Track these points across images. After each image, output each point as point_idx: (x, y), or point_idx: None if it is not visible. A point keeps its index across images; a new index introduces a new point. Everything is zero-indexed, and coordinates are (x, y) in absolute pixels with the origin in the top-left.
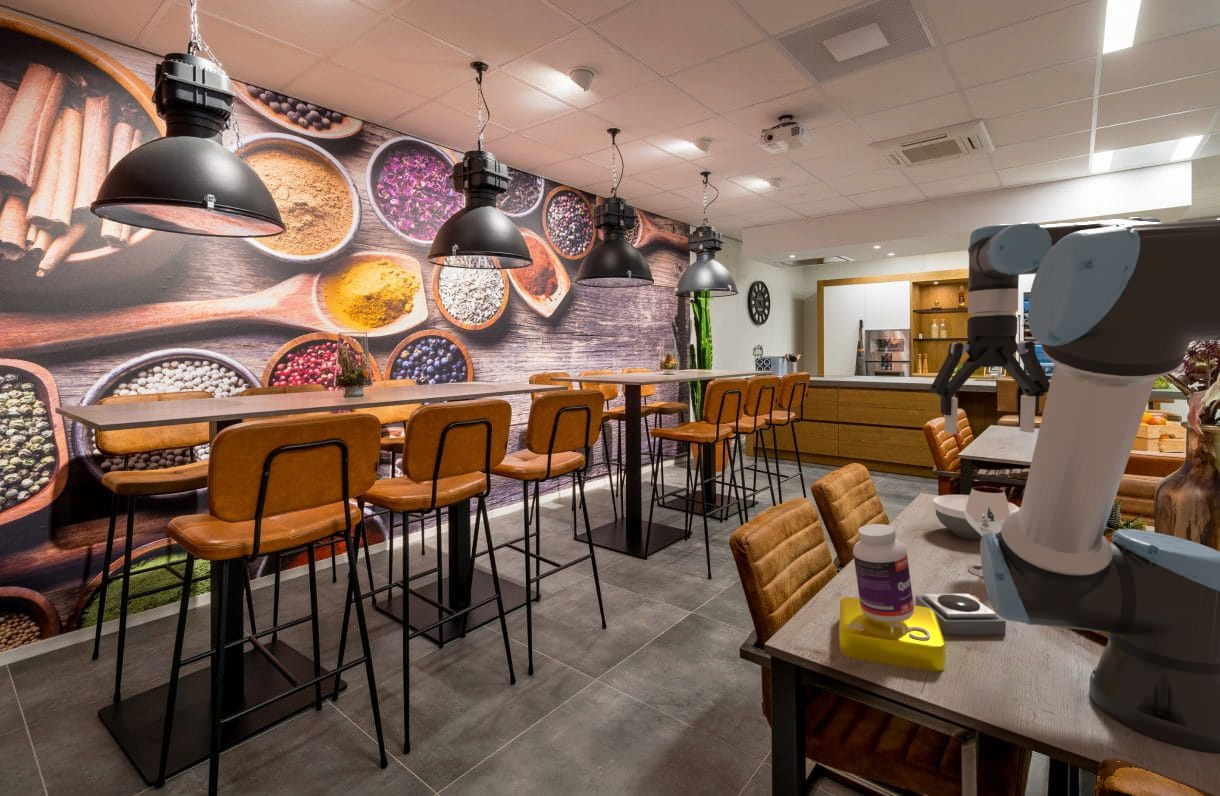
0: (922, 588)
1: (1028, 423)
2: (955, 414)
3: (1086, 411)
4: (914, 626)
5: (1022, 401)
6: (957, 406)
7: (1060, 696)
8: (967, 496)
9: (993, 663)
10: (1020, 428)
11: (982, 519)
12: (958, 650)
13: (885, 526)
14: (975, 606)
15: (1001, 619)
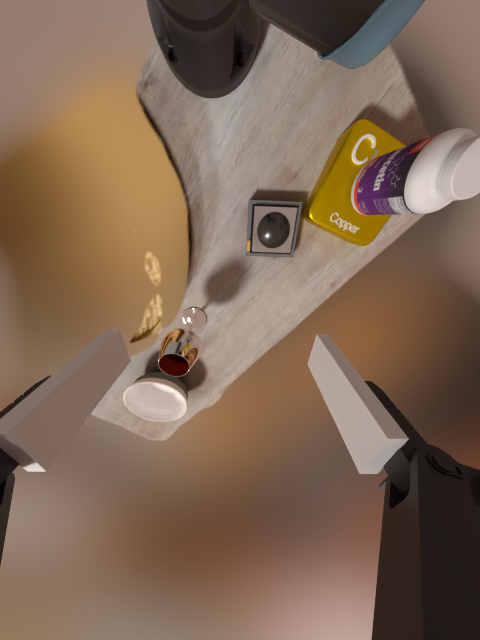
0: (260, 292)
1: (105, 350)
2: (350, 374)
3: None
4: (359, 163)
5: (63, 437)
6: (361, 400)
7: (278, 66)
8: (151, 419)
9: (293, 143)
10: (127, 362)
11: (194, 335)
12: (306, 171)
13: (460, 175)
14: (264, 220)
15: (251, 203)
